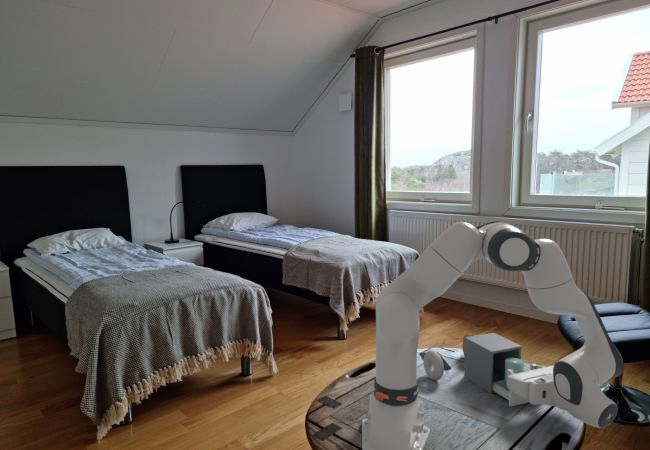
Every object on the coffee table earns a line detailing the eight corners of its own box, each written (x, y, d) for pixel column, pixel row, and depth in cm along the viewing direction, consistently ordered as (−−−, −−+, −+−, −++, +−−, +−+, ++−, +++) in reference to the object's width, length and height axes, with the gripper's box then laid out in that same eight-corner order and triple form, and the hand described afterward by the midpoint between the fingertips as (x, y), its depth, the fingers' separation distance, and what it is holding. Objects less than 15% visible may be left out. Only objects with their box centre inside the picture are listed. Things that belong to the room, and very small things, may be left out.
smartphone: (437, 353, 178) (437, 351, 178) (451, 370, 163) (451, 368, 163) (418, 354, 177) (418, 352, 177) (431, 371, 162) (431, 369, 162)
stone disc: (460, 354, 175) (460, 330, 174) (469, 354, 176) (470, 329, 175) (472, 366, 165) (472, 340, 164) (481, 365, 166) (482, 339, 164)
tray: (541, 399, 141) (542, 382, 141) (510, 406, 137) (511, 389, 136) (513, 382, 152) (514, 367, 151) (484, 388, 148) (484, 373, 147)
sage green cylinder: (523, 394, 141) (525, 365, 140) (504, 392, 142) (506, 363, 141) (521, 386, 146) (522, 358, 145) (503, 384, 147) (504, 356, 146)
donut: (445, 384, 152) (446, 356, 150) (436, 386, 150) (437, 357, 149) (429, 372, 161) (430, 345, 160) (421, 373, 160) (421, 346, 159)
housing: (519, 386, 150) (521, 346, 148) (490, 393, 145) (491, 351, 144) (492, 370, 162) (493, 332, 160) (464, 376, 157) (465, 337, 156)
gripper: (584, 371, 132) (545, 353, 144) (529, 384, 124) (494, 364, 137) (583, 392, 132) (544, 372, 145) (528, 406, 125) (493, 384, 138)
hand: (519, 368), depth 141 cm, fingers open, 8 cm apart
